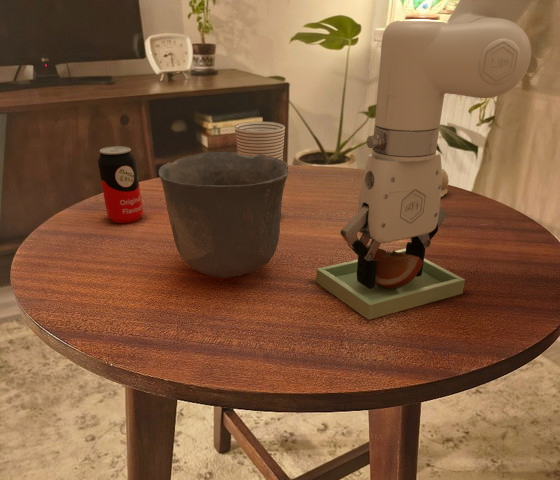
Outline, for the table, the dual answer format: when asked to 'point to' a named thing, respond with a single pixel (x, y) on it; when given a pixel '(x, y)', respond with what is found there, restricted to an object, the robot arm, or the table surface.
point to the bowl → (225, 210)
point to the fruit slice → (395, 268)
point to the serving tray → (385, 300)
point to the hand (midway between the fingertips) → (389, 277)
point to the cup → (260, 139)
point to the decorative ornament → (444, 183)
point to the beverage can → (120, 184)
